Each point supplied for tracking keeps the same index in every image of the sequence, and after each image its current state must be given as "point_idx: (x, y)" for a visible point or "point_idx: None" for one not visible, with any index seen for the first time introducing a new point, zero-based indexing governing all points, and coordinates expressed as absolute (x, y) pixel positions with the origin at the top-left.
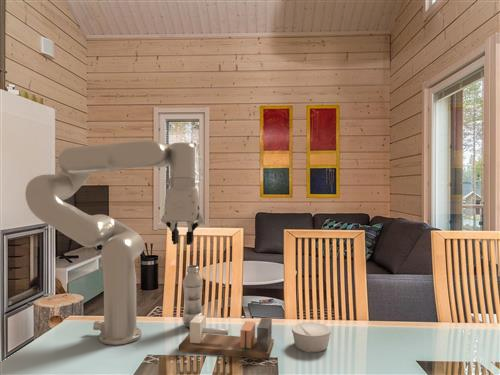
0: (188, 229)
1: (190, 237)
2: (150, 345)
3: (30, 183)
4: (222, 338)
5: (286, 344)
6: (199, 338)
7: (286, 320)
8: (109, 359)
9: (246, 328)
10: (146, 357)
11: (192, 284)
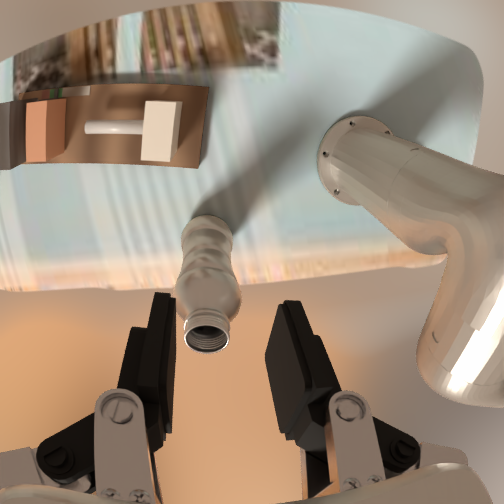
0: (138, 414)
1: (137, 351)
2: (283, 114)
3: None
4: (112, 144)
5: None
6: (155, 100)
7: (33, 282)
8: (349, 50)
9: (36, 114)
10: (275, 53)
11: (199, 273)
